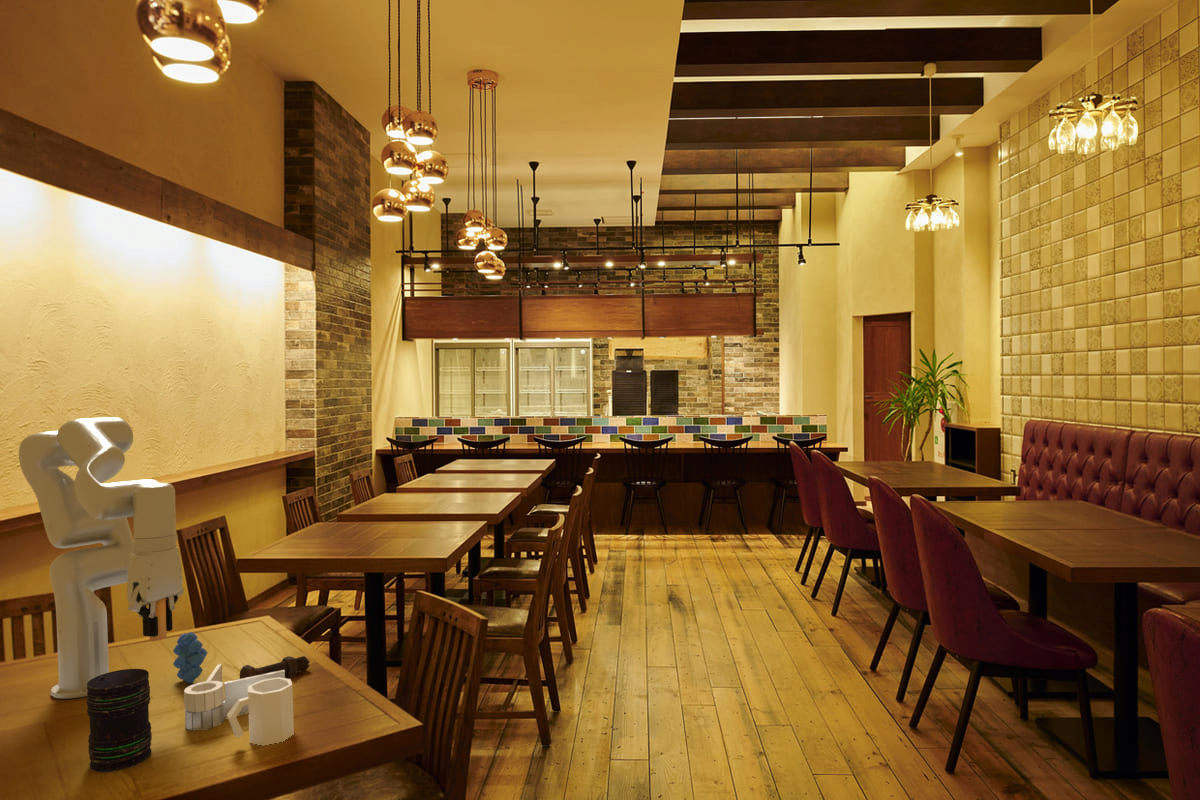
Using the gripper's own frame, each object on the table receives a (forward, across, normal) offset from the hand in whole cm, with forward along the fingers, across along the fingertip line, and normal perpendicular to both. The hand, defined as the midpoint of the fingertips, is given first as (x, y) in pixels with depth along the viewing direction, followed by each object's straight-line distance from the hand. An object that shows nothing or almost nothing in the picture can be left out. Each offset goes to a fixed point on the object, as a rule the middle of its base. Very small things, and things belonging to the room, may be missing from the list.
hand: (157, 632), depth 161 cm
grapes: (+18, -18, -8) cm, 27 cm away
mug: (+18, +4, +28) cm, 33 cm away
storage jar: (+18, +16, +8) cm, 25 cm away
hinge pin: (+1, 0, 0) cm, 1 cm away
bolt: (+18, -24, +10) cm, 32 cm away
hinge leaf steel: (+18, -4, +15) cm, 24 cm away
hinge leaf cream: (+17, -4, +9) cm, 20 cm away
